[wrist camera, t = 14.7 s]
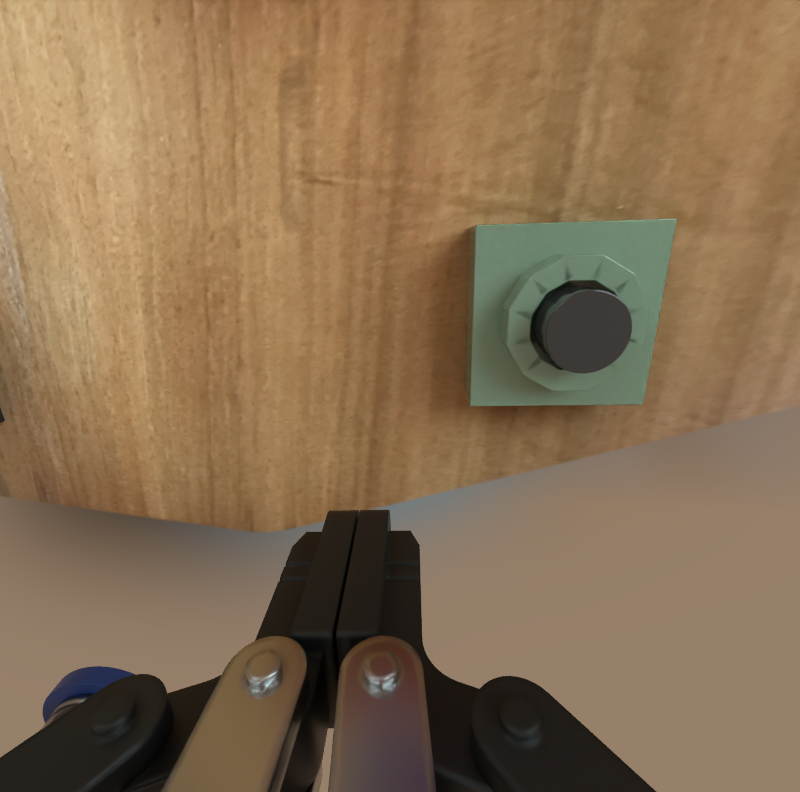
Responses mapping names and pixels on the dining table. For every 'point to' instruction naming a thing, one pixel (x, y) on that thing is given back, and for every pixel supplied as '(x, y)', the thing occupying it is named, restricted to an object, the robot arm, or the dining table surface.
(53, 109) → the dining table surface
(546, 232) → the button base
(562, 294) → the button
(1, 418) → the panel
